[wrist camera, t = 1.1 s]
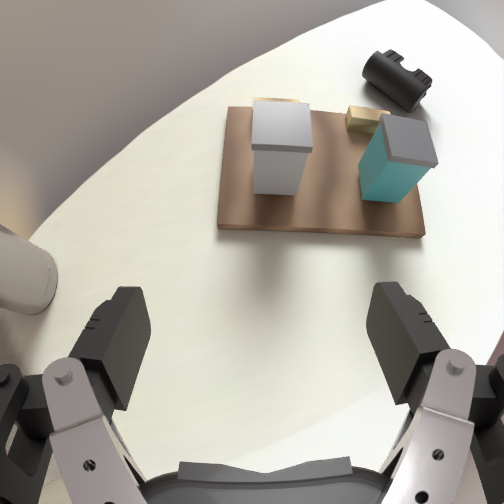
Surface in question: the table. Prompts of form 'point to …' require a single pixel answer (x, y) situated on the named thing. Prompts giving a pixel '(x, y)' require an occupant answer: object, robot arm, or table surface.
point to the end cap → (396, 79)
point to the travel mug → (54, 493)
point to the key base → (313, 182)
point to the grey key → (280, 146)
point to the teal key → (395, 158)
